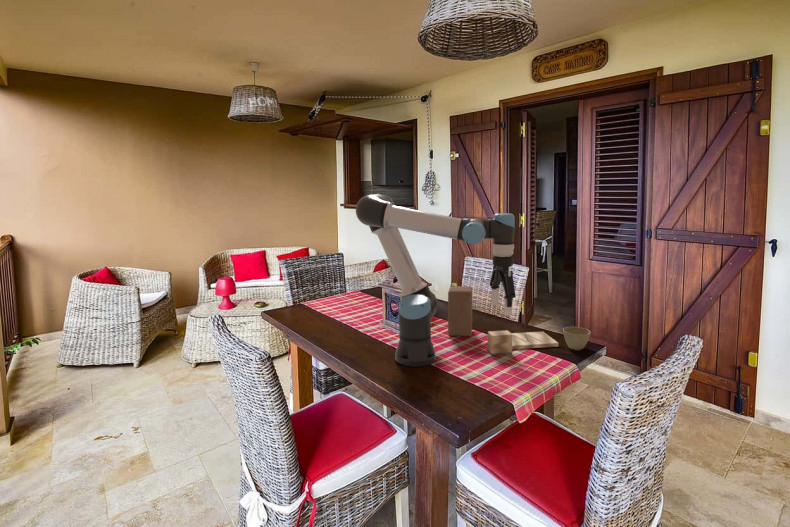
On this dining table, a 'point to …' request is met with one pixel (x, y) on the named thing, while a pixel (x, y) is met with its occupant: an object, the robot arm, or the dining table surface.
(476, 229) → the robot arm
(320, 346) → the dining table surface
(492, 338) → the sanding block
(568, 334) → the flower pot
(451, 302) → the wooden block
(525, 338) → the board
